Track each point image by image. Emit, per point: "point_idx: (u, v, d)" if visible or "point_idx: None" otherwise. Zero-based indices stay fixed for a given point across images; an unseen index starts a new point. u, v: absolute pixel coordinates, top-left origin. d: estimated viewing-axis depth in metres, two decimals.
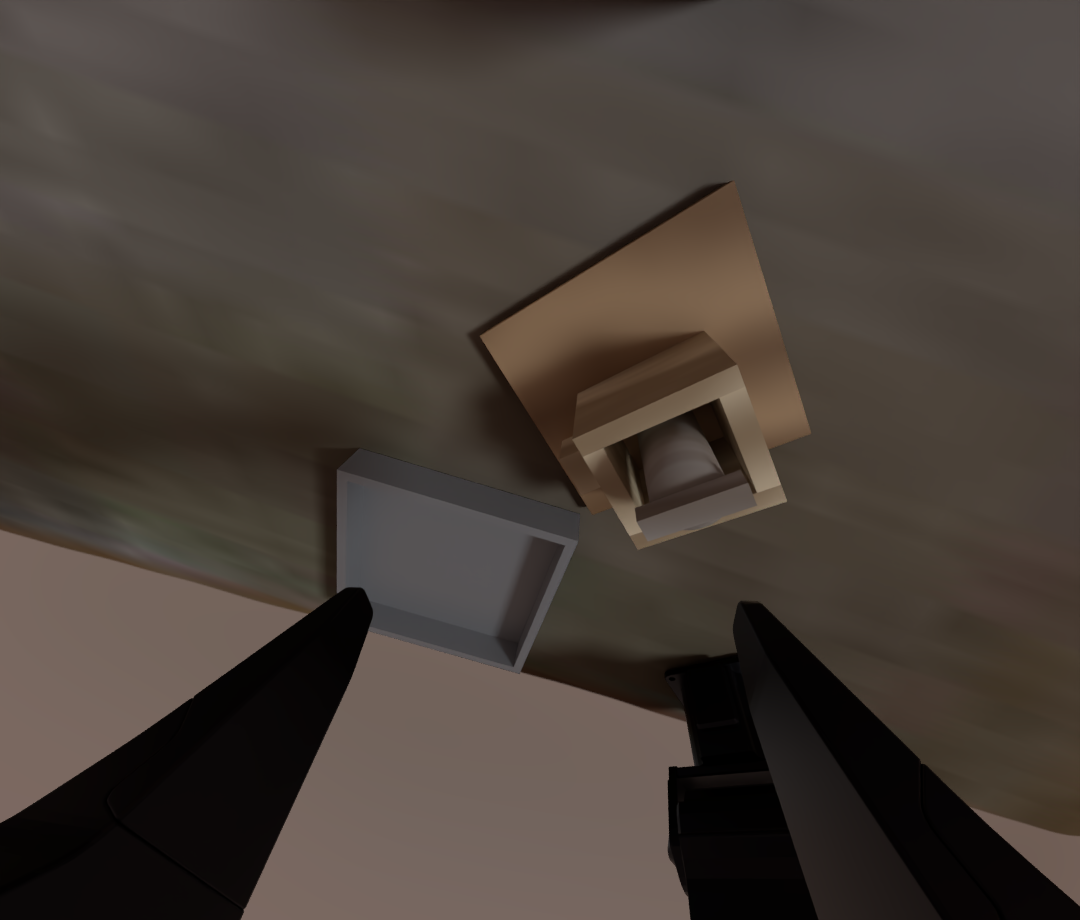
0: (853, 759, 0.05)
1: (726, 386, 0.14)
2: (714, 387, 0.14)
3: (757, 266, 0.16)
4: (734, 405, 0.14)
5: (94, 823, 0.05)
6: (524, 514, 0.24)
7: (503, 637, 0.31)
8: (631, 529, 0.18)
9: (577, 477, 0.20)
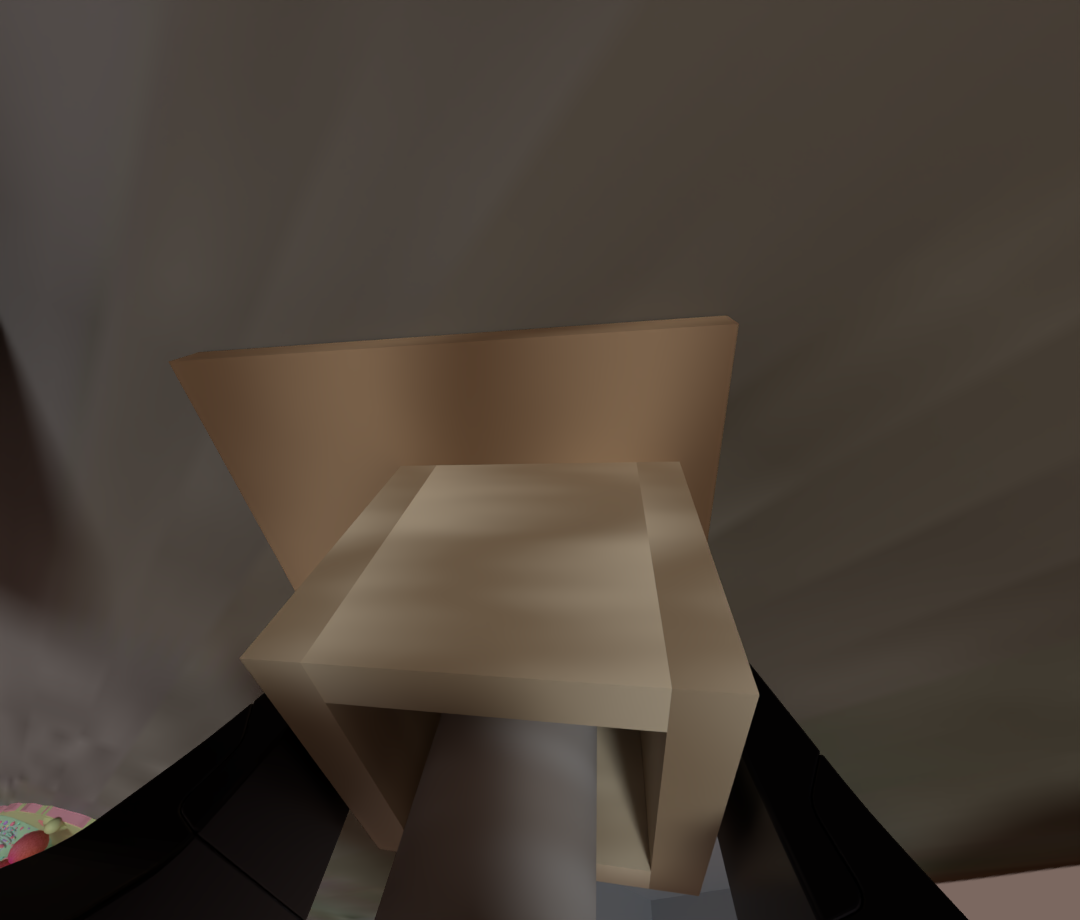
0: (755, 750, 0.06)
1: (296, 686, 0.05)
2: (296, 701, 0.06)
3: (303, 357, 0.08)
4: (351, 689, 0.05)
5: (171, 835, 0.05)
6: None
7: None
8: (631, 882, 0.07)
9: None
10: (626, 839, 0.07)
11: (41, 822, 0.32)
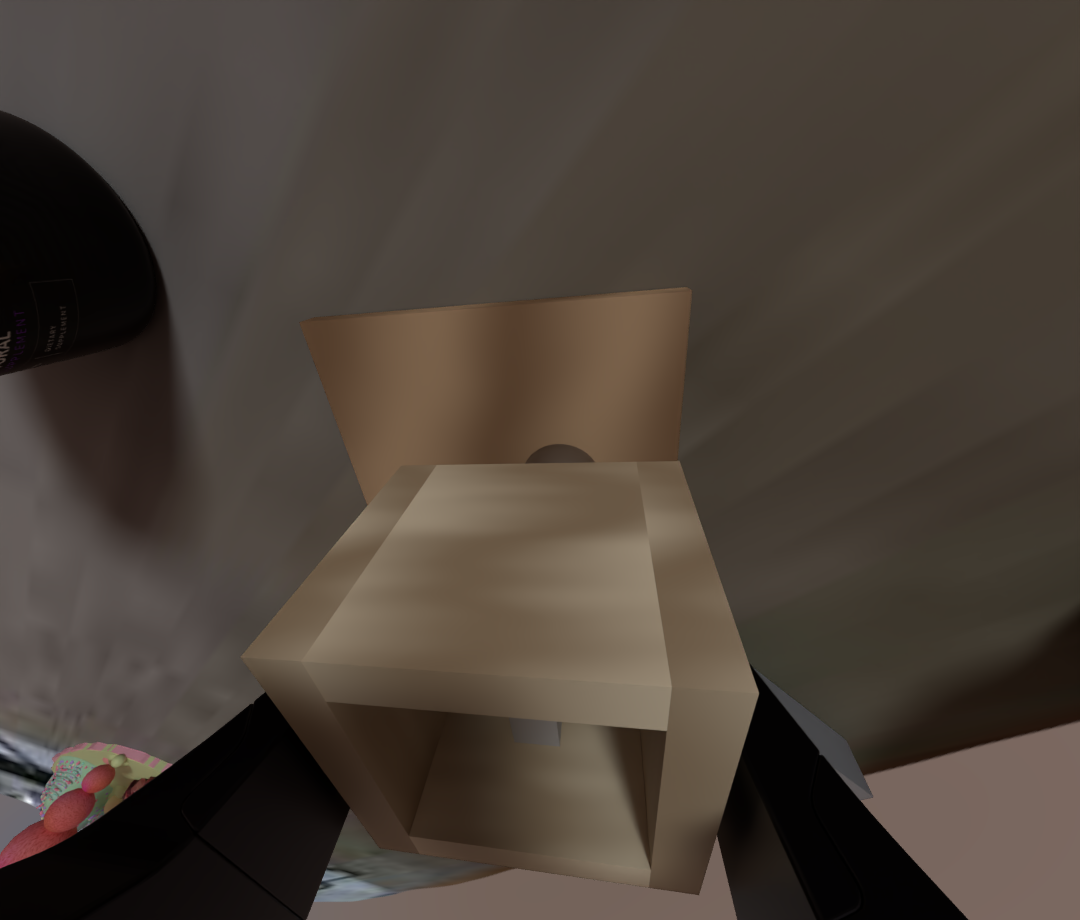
0: (755, 750, 0.06)
1: (297, 685, 0.05)
2: (298, 699, 0.06)
3: (397, 317, 0.12)
4: (351, 688, 0.05)
5: (172, 835, 0.05)
6: None
7: None
8: (631, 881, 0.07)
9: None
10: (626, 838, 0.08)
11: (105, 760, 0.36)
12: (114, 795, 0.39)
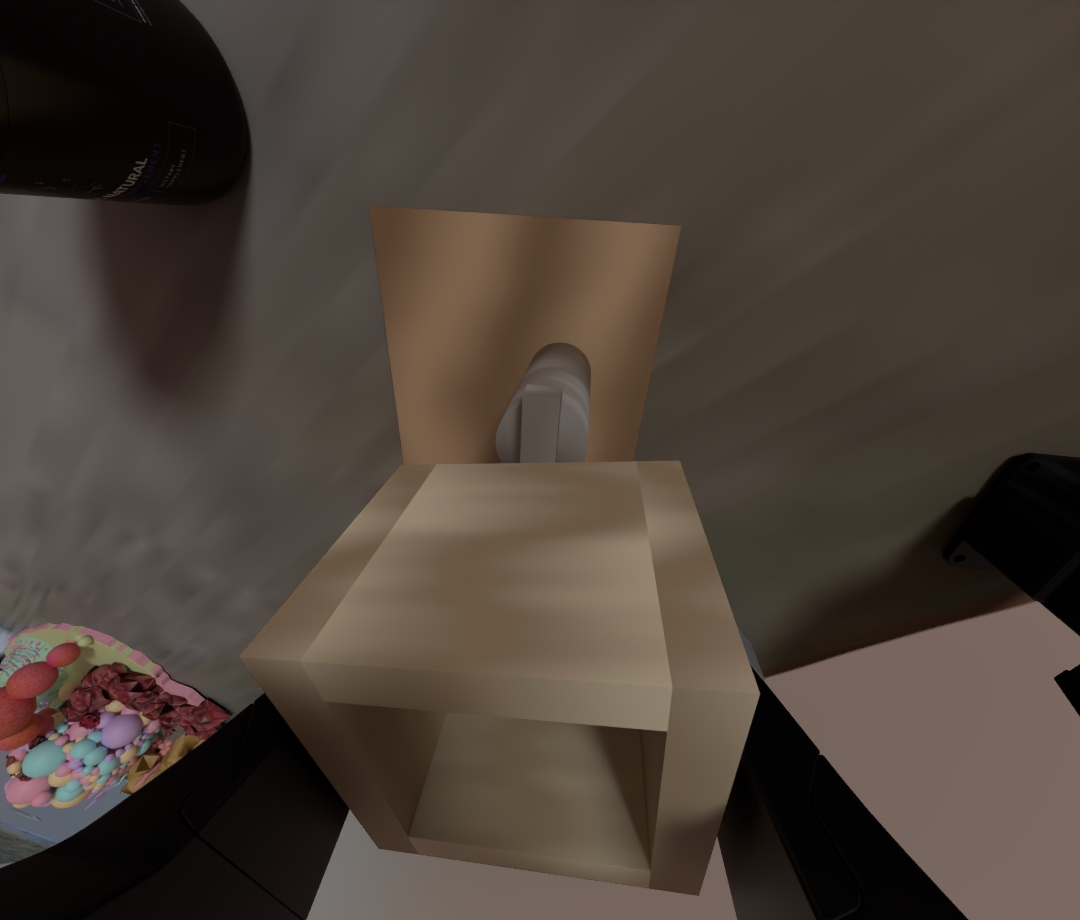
0: (755, 750, 0.06)
1: (295, 685, 0.05)
2: (296, 698, 0.06)
3: (452, 213, 0.15)
4: (350, 688, 0.05)
5: (172, 835, 0.05)
6: None
7: None
8: (631, 882, 0.07)
9: None
10: (626, 839, 0.07)
11: (69, 641, 0.36)
12: (70, 681, 0.39)
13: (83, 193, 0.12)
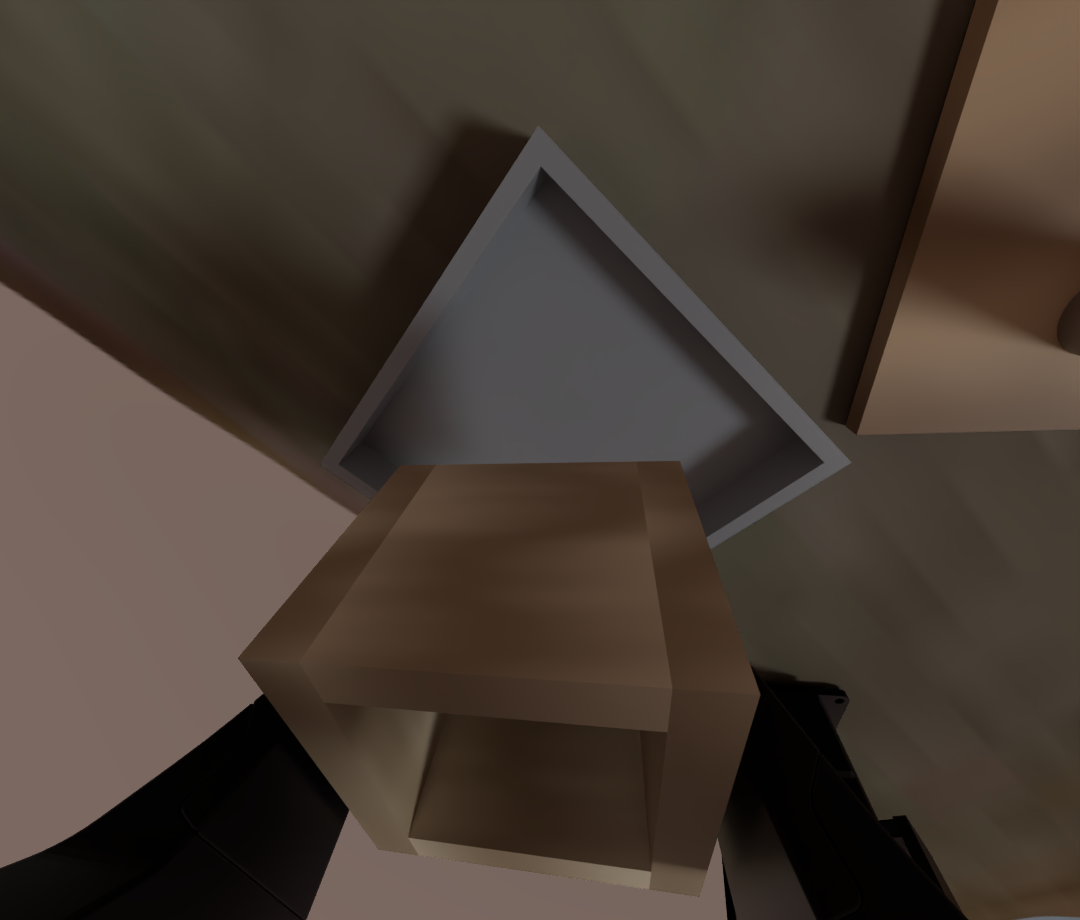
0: (755, 750, 0.06)
1: (295, 686, 0.05)
2: (296, 699, 0.06)
3: None
4: (350, 689, 0.05)
5: (172, 835, 0.05)
6: None
7: None
8: (631, 883, 0.07)
9: None
10: (626, 839, 0.07)
11: None
12: None
13: None
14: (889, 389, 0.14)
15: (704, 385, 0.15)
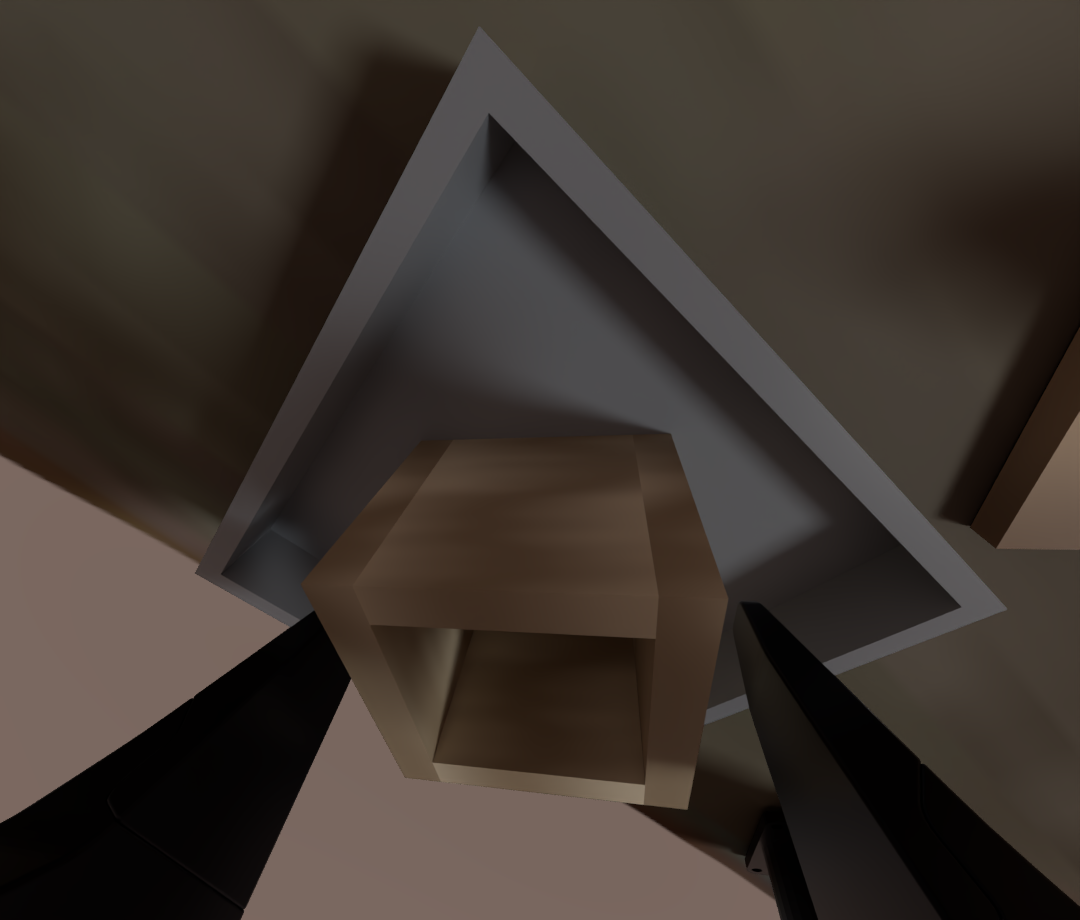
0: (853, 759, 0.05)
1: (346, 609, 0.07)
2: (345, 623, 0.07)
3: None
4: (393, 610, 0.06)
5: (94, 823, 0.05)
6: None
7: None
8: (628, 798, 0.09)
9: None
10: (623, 761, 0.09)
11: None
12: None
13: None
14: (1063, 488, 0.09)
15: (761, 470, 0.10)
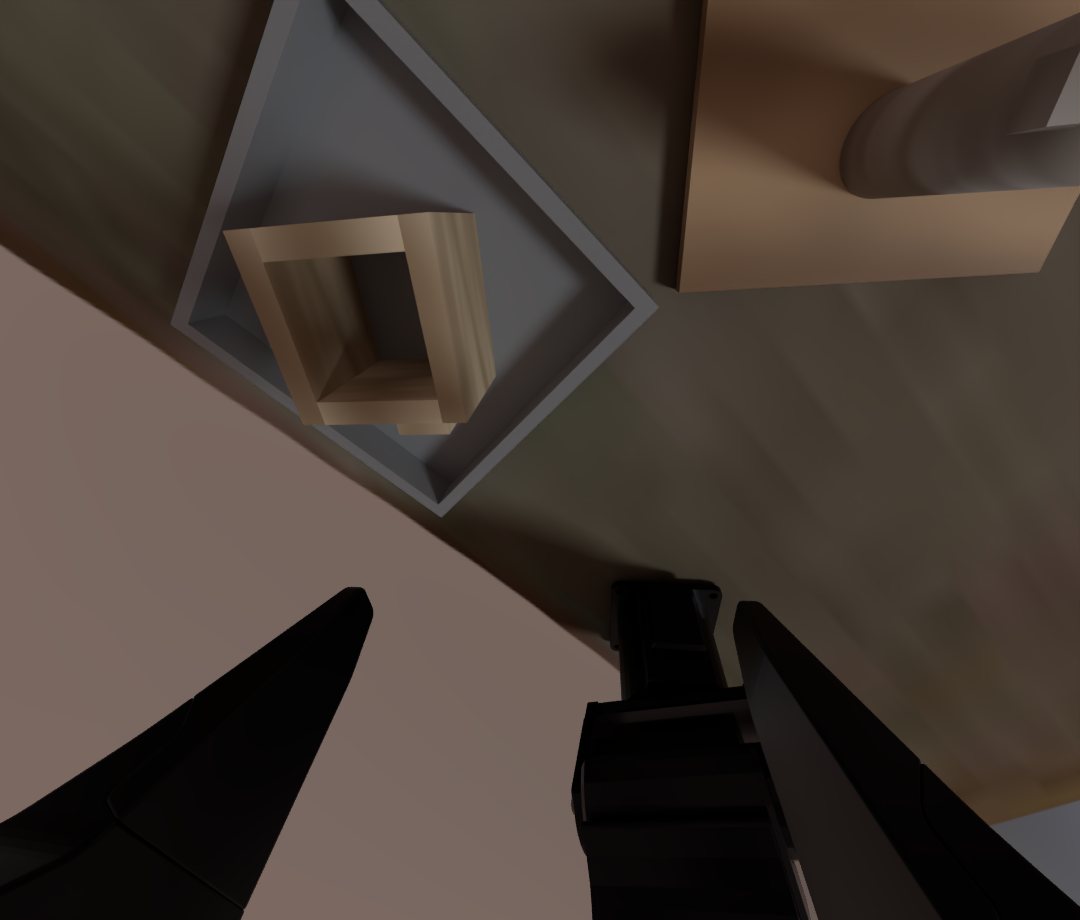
0: (853, 759, 0.05)
1: (248, 250, 0.12)
2: (249, 263, 0.12)
3: None
4: (273, 247, 0.12)
5: (94, 823, 0.05)
6: (593, 234, 0.14)
7: (433, 466, 0.22)
8: (432, 417, 0.14)
9: (426, 428, 0.18)
10: (430, 395, 0.14)
11: None
12: None
13: None
14: (700, 240, 0.15)
15: (534, 241, 0.15)
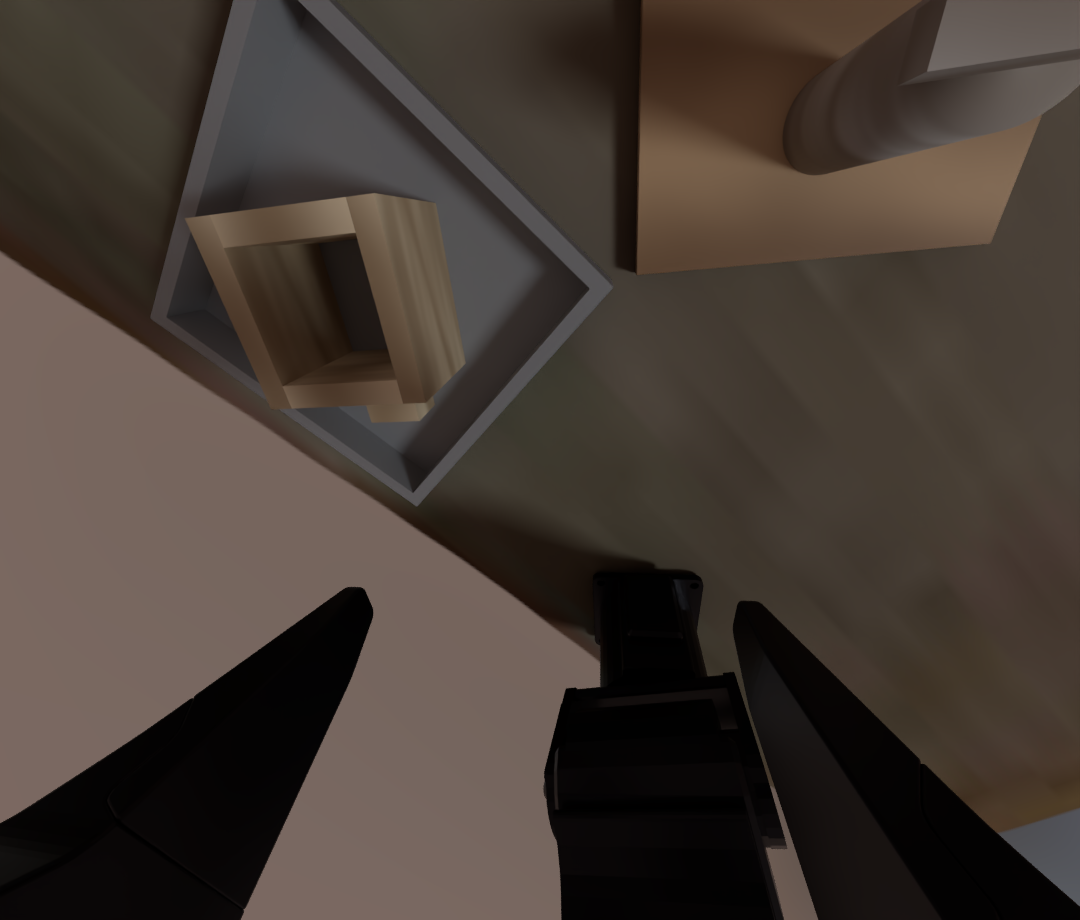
0: (853, 759, 0.05)
1: (210, 236, 0.13)
2: (211, 249, 0.13)
3: None
4: (232, 232, 0.12)
5: (94, 823, 0.05)
6: (547, 218, 0.15)
7: (410, 456, 0.22)
8: (393, 398, 0.15)
9: (397, 415, 0.18)
10: (390, 377, 0.15)
11: None
12: None
13: None
14: (653, 221, 0.15)
15: (494, 228, 0.16)
